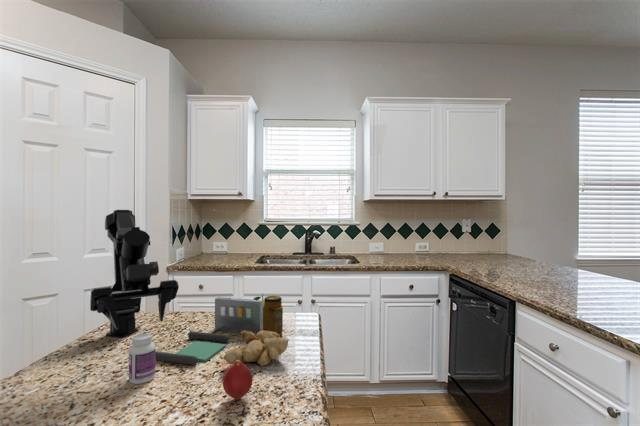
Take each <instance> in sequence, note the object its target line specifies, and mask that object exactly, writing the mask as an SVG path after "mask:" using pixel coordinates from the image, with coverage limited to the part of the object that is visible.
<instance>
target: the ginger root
mask: <svg viewBox="0 0 640 426" xmlns="http://www.w3.org/2000/svg"><path fill="white" fill-rule="evenodd" d="M240 339H241V341H244V343H245V344H246V345H245V346H244V347H240V348H239V347H237V348H235V347H234V348H231V349H230V350H228V351H227V352H225V354H224V356H223V358H222V359H223V360H225V362H226V363H227V364H229V365H234V364H235V363H234V362H235V361H236V360H240V361H241V363H248V362H249V363H250V362H251V363H252V362H254V363H255V362H257V364H259V365H260V366H262V367H264V366H267V365H268V364H270V362H271V361H272V360H276V359H278V358H279V357H280V356H281V355H282V354H283V353H284V352H285V351H286V350H287V348H288V346H289V340H286V339H285V338H280V335H279V334H277V333H275V332H272V331H260V332H258V333H257V334H255V333H252V332H248V331H245V330H244V331H242V332H240Z"/></svg>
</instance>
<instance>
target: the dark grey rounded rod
mask: <svg viewBox="0 0 640 426" xmlns="http://www.w3.org/2000/svg"><path fill="white" fill-rule="evenodd" d="M155 361H161V362H168V363H175V364H183V365H190V366H195V365H197V364H198V363H199V361H198V358H197V357H196V356H189V355H181V354H175V353H173V352H164V351H157V350H156V359H155Z"/></svg>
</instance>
